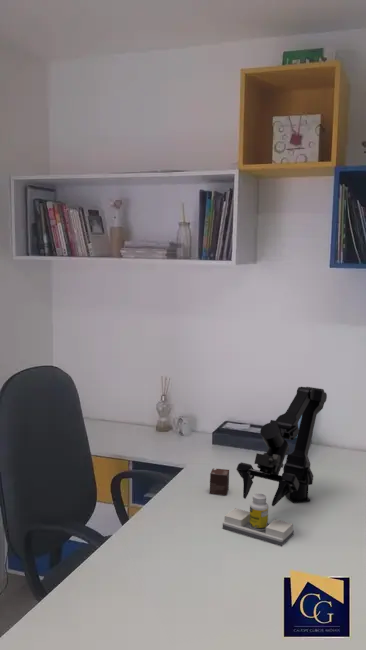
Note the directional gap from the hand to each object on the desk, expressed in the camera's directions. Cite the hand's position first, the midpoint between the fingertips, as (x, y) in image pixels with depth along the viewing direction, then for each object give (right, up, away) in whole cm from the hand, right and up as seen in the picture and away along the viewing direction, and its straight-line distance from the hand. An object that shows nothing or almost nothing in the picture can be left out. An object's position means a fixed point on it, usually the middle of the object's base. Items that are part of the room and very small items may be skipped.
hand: (258, 501), depth 180 cm
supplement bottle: (0, -8, +2) cm, 9 cm away
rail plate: (0, -9, +2) cm, 10 cm away
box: (-10, -6, +32) cm, 34 cm away
